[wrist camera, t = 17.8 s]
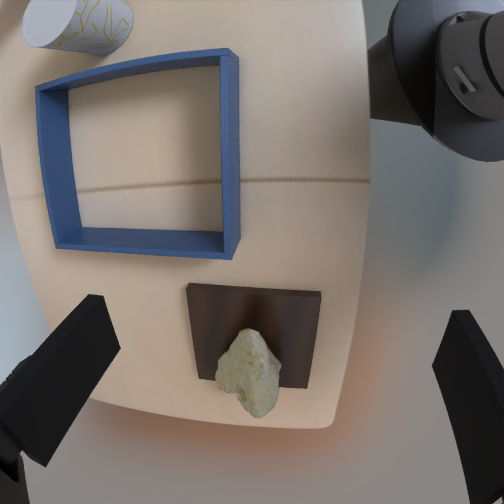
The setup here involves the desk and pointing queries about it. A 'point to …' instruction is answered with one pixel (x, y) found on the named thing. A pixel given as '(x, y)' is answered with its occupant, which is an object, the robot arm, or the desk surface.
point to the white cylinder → (77, 25)
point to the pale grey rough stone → (250, 373)
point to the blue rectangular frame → (62, 177)
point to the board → (255, 326)
